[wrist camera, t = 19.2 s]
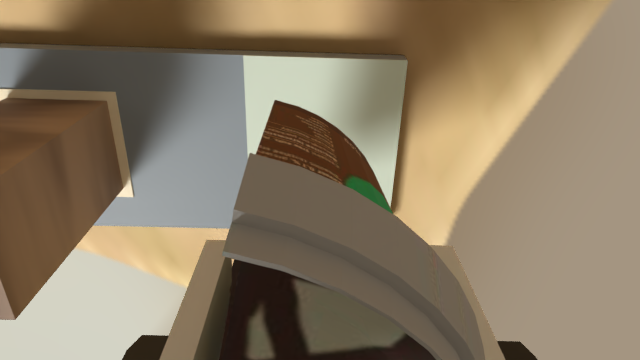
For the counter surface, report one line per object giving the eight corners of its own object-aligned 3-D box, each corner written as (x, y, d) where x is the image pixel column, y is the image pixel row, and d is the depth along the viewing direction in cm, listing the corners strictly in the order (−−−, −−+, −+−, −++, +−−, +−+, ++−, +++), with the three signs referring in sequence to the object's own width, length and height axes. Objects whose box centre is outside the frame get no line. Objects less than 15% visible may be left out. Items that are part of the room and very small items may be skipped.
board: (37, 213, 27) (25, 224, 26) (-13, 42, 23) (-31, 47, 21) (384, 221, 27) (387, 232, 26) (403, 55, 23) (407, 60, 22)
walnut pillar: (32, 186, 25) (-129, 317, 16) (6, 98, 22) (-198, 192, 14) (123, 188, 25) (15, 319, 16) (107, 100, 23) (-30, 196, 14)
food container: (365, 352, 21) (403, 658, 12) (232, 331, 20) (163, 637, 11) (461, 95, 15) (668, 298, 6) (282, 55, 15) (227, 217, 6)
